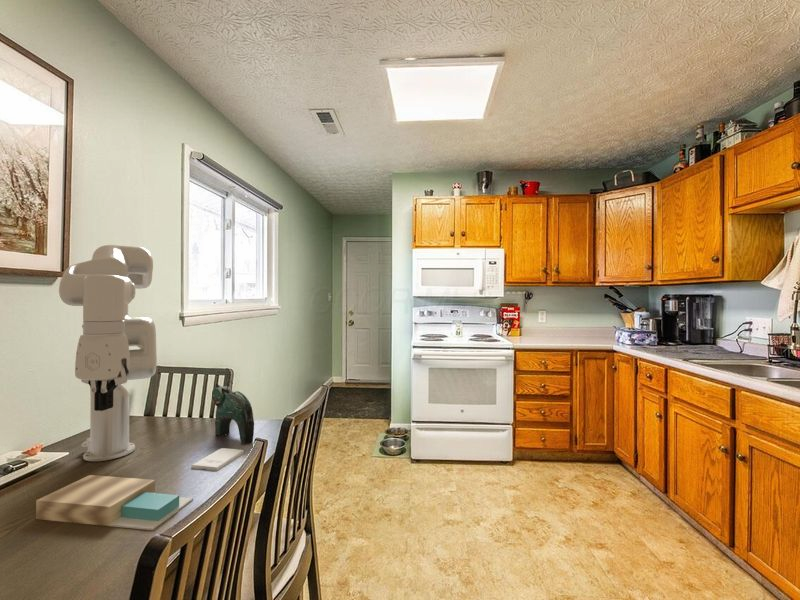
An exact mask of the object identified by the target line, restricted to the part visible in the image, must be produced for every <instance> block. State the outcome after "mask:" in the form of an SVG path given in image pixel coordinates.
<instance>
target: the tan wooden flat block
mask: <svg viewBox="0 0 800 600" xmlns="http://www.w3.org/2000/svg"><path fill="white" fill-rule="evenodd" d="M144 492H149V493H156V480H155V479H147V478H146V479H145V478H135V477H121V476H120V477H119V476H107V475H96V474H89V475H87V476H85V477H82V478H81V479H79V480H77V481H74V482H72V483H70V484H68V485H66V486H63V487H62V488H59V489H57V490H55V491H53V492H51V493H49V494H47V495H44V496H43V497H40V498H38V499H36V500H35V501H36V502H35V504H36V505H35V520H41V521H43V520H45V521H52V522H64V523H72V522H73V524H81V525H82V524H85V525H93V526H104V527H105V526H106V527H111V526H110V524H111V523H112V522H114V521H116V520H117V519H119V518H120V517H121V506H122V505H124V504H126V503H127V502H129V501H131V500H132V499H134V498H136V497H137V496H139V495H141V494H142V493H144Z"/></svg>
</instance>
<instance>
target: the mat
mask: <svg viewBox="0 0 800 600" xmlns="http://www.w3.org/2000/svg"><path fill="white" fill-rule="evenodd" d="M193 500H194V498H193V497H183V496H179V506H178V507H177V508H176V509H174V510H173V511H172V512H170V513H169V514H167V515H166V516H165V517H163V518H162V519H160V520H159V521H152V520H143V519H134V518H124V517H120V518H119V519H117V520H116V521H114V522H112V523H111V524H110V526H109V527H114V528H125V529H126V528H127V529H136V530H147V531H155V529H157V528H158V527H159V526H161V525H162V524H163V523H164V522H166V521H167V520H168V519H170V518H171V517H172V516H174V515H175V514H176V513H177V512H179V511H181V510H182V509H183V508H184V507H186V506H187V505H188V504H190V503H191V502H192V501H193ZM190 501H191V502H190ZM189 502H190V503H189ZM185 505H186V506H185Z"/></svg>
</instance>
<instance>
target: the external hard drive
mask: <svg viewBox="0 0 800 600" xmlns="http://www.w3.org/2000/svg"><path fill="white" fill-rule="evenodd" d="M244 454H245V453H244V450H243V449H237V448H225V447H221V448H219V449H217V450H215V451H213V452H212V453H210V454H209V455H207V456H205V457H203V458H202V459H200V460H198V461H197V462H195V463H193V464H192V465H191V466H190V468H191V469H196V470H207V471H215V472H216V471H219V470H221V469H222V468H223V467H225V466H226V465H228V464H230V463H231V462H232V461H235V460H236V459H237V458H239V457H240V456H242V455H244Z"/></svg>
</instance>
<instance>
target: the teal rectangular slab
mask: <svg viewBox="0 0 800 600" xmlns="http://www.w3.org/2000/svg"><path fill="white" fill-rule="evenodd" d="M179 497H180V494H179V495H178V494H170V493H169V494H167V493H158V492H155V493H149V492H144V493H142V494H141V495H139V496H137V497H136V498H134V499H132V500H131V501H129V502H127V503H126V504H124V505H122V506H121V517H124V518H134V519H143V520H152V521H159V520H160V519H162V518H163V517H165V516H166V515H167V514H169V513H170V512H172V511H173V510H174V509H176V508H177V507H178V506H179Z"/></svg>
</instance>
